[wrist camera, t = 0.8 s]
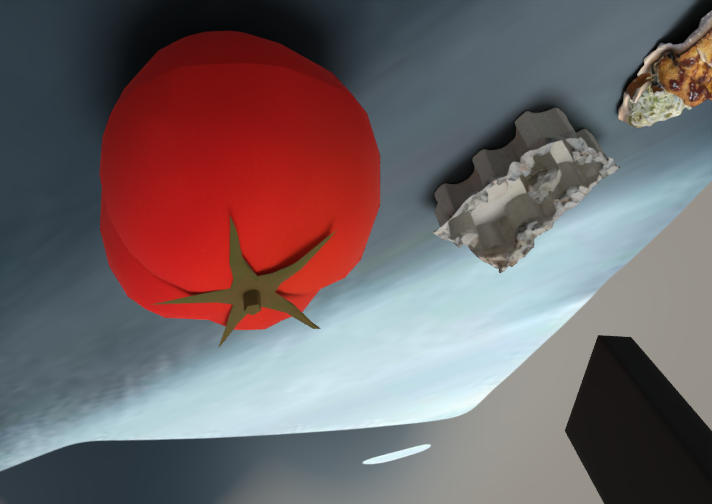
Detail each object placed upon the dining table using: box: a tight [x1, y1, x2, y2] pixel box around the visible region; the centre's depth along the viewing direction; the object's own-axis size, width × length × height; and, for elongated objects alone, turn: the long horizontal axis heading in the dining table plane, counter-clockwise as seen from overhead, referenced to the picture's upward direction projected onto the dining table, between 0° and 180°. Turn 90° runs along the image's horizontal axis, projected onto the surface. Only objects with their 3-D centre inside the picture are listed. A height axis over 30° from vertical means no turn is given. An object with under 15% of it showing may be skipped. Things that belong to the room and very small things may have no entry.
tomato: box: [100, 31, 380, 347], centre depth 25 cm, size 12×12×13 cm
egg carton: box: [432, 107, 620, 273], centre depth 36 cm, size 11×8×4 cm
